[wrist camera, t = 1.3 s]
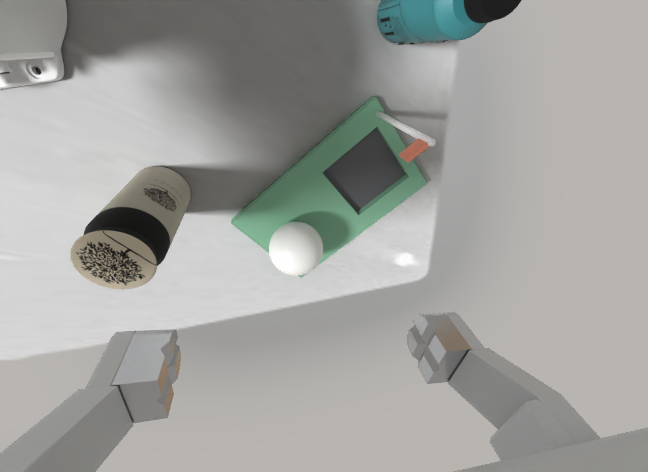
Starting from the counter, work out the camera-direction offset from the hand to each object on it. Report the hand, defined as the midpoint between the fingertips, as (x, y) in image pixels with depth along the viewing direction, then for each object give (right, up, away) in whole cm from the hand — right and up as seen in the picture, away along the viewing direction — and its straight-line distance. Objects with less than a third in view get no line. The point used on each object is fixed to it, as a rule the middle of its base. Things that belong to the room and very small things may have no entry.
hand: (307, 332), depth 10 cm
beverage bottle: (+10, +32, +27) cm, 43 cm away
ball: (-4, +1, +37) cm, 37 cm away
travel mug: (-24, +10, +34) cm, 43 cm away
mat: (+2, +10, +40) cm, 41 cm away
